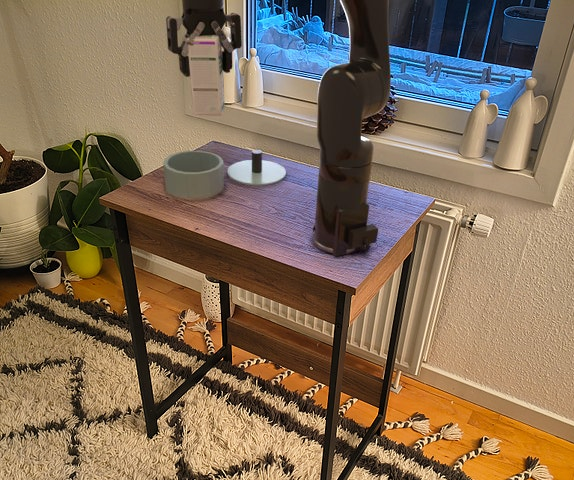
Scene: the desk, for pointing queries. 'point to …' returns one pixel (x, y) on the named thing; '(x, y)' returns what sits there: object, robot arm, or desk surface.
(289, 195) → the desk surface
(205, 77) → the syrup box
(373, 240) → the robot arm
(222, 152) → the desk surface
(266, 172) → the lid
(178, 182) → the pot
